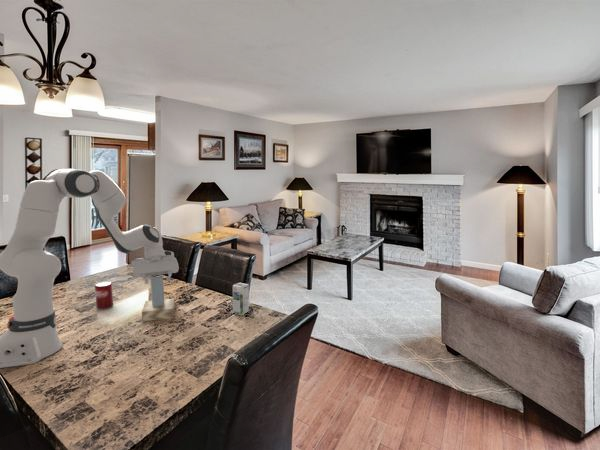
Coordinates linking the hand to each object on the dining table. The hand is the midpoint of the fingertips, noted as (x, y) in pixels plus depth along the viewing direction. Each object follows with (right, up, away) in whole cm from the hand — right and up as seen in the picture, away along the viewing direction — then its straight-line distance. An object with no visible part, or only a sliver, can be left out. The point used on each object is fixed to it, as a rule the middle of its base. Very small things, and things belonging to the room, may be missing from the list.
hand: (157, 282), depth 152 cm
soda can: (-30, -14, +9) cm, 35 cm away
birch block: (0, -16, +3) cm, 16 cm away
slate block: (0, -11, +2) cm, 11 cm away
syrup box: (+38, -16, +5) cm, 42 cm away
